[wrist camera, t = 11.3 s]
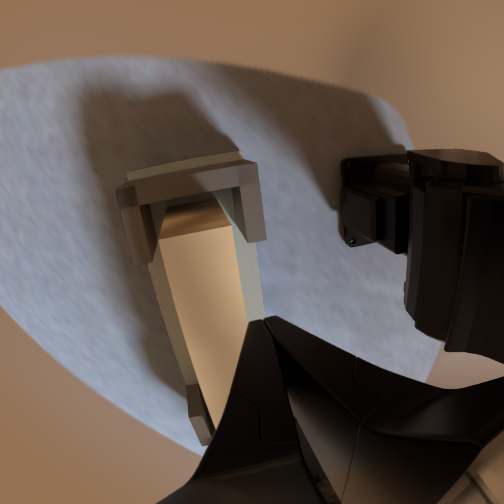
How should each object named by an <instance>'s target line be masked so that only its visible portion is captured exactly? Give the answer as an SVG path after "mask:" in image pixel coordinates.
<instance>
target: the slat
mask: <svg viewBox="0 0 504 504" xmlns="http://www.w3.org/2000/svg"><path fill="white" fill-rule="evenodd" d="M158 241H159V245H160V250H161V254H162V258H163V262H164V266H165V270H166V274H167V278H168V281H169V285H170V289H171V293H172V296H173V300H174V304H175V307H176V311H177V314H178V318H179V321H180V325H181V328H182V331H183V335H184V338H185V341H186V345H187V348H188V351H189V354H190V357H191V360H192V363H193V367H194V370H195V373H196V376H197V379H198V382H199V384H200V387H201V390H202V393H203V396H204V399H205V402H206V404H207V407H208V410H209V413H210V415H211V418H212V421H213V423H214V426H215V429H217V426H218V424H219V422H220V419H221V417H222V414H223V411H224V408H225V405H226V402H227V398H228V395H229V393H230V388H231V384H232V381H233V377H234V374H235V370H236V366H237V363H238V359H239V355H240V351H241V348H242V344H243V340H244V337H245V333H246V329H247V325H248V324H247V318H246V312H245V306H244V299H243V293H242V287H241V281H240V275H239V269H238V262H237V256H236V250H235V244H234V237H233V231H232V225H231V223H230V222H229V220H228V218H227V216H226V215H225V213H224V211H223V209H222V207H221V206H220V204H219V202H218V200H217V199H216V198H212V199H207V200H201V201H196V202H191V203H186V204H181V205H176V206H171V207H167V209H166V212H165V216H164V220H163V224H162V227H161V231H160V235H159V239H158Z"/></svg>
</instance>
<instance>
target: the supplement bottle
mask: <svg viewBox="0 0 504 504" xmlns="http://www.w3.org/2000/svg"><path fill="white" fill-rule="evenodd" d="M294 421H295V425H296V429H297V433H298V437H299V441H300V445H301V449H302V452H303V456H304V459H305V462H306V464H307V466H308V468H309V470H310V472H311V474H312V476H313V478H314V480H315V482H316V484H317V486H318V488H319V490H320V492H321V494H322V496H323V497H324V499H325V501H326V503H327V504H342V503H341V502H342V501H340V499H339V498H338V496H337V494H336V492H335V490H334V488H333V487H332V485H331V483H330V481H329V479H328V478H327V476H326V474H325V472H324V470H323V468H322V466H321V465H320V463H319V461H318V459H317V457H316V455H315V453H314V452H313V450H312V448H311V446H310V444H309V442H308V440H307V438H306V436H305V435H304V433H303V431H302V429H301V427H300V425H299V423H298V421H297V419H296V418H294Z"/></svg>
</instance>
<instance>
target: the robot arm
mask: <svg viewBox="0 0 504 504" xmlns="http://www.w3.org/2000/svg"><path fill="white" fill-rule="evenodd" d="M408 160H409V162H408ZM348 162H350V167H349V168H347V163H348ZM341 173H342V189H341V208H342V223H343V224H344V231H345V243H346V245H348V246H349V247H357V246H362V245H366V244H371V243H375V242H377V243H378V244H380V245H382V246H384V247H385V248H387V249H389V250H390V251H392V252H394V253H395V254H403V255H405V256H407V271H406V282H404V304H405V309H406V311H407V312H408V313H409V315H410V316H411V317H412V319H413V320H414V321H415V327H416V329H418V330H419V331H421V332H422V333H424V334H425V335H427V336H429V337H431V338H433V339H436V340H438V341H442V342H445V346H444V350H445V351H446V352H467V353H473V354H479V355H482V356H485V357H488V358H490V359H493V360H495V361H498V362H500V363H503V364H504V163H503V162H502V161H500V160H498V159H497V158H495V157H494V156H492V155H490V154H489V153H486V152H480V151H472V150H464V149H425V150H407V154H390V155H374V156H361V157H349V158H344V159H343V160H342V162H341ZM352 238H354V239H353V241H352V242H351V243H350V240H351V239H352ZM292 411H293V413H294V415H295V417H296V419H297V421H298V423H299V425H300V427H301V429H302V431H303V433H304V435H305V436H306V438H307V440H308V442H309V444H310V446H311V448H312V450H313V452H314V453H315V455H316V457H317V459H318V461H319V463H320V465H321V466H322V468H323V470H324V472H325V474H326V476H327V478H328V479H329V481H330V483H331V485H332V487H333V488H334V490H335V492H336V494H337V496H338V498H339V499H340V501H342V502H341V503H342V504H504V376H503V377H500V378H497V379H494V380H490V381H487V382H483V383H480V384H476V385H472V386H468V387H465V388H460V389H443V388H439V387H435V386H432V385H429V384H426V383H423V382H420V381H417V380H414V379H411V378H408V377H405V376H402V375H399V374H396V373H393V372H391V371H388V370H385V369H383V368H380V367H378V366H376V365H374V364H371V363H369V362H367V361H365V360H363V359H361V358H359V357H356V356H355V355H352V354H350V353H348V352H346V351H344V350H342V349H340V348H338V347H336V346H334V345H332V344H330V343H328V342H326V341H324V340H323V339H321V338H319V337H317V336H315V335H313V334H311V333H309V332H307V331H305V330H303V329H301V328H299V327H297V326H295V325H293V324H292V323H290V322H288V321H286V320H284V319H282V318H280V317H278V316H270V317H266V318H264V319H263V320H262V319H258V320H253V321H249V323H248V325H247V329H246V333H245V337H244V340H243V344H242V348H241V351H240V355H239V359H238V363H237V366H236V370H235V374H234V377H233V381H232V384H231V388H230V393H229V395H228V398H227V402H226V405H225V408H224V411H223V414H222V417H221V419H220V422H219V424H218V426H217V429H216V431H215V433H214V435H213V437H212V439H211V441H210V443H209V445H208V447H207V449H206V451H205V453H204V455H203V457H202V459H201V461H200V463H199V466H198V467H197V469H196V471H195V472H194V474H193V475H192V477H191V478H190V479H189V480H188V482H187V483H185V484H184V485H183V486H182V487H180V488H179V489H177V490H176V491H174V492H173V493H171V494H170V495H168V496H167V497H165V498H164V499H162V500H161V501H159V502H157V503H156V504H327V503H326V501H325V499H324V497H323V496H322V494H321V492H320V490H319V488H318V486H317V484H316V482H315V480H314V478H313V476H312V474H311V472H310V470H309V468H308V466H307V464H306V462H305V459H304V456H303V452H302V449H301V445H300V441H299V437H298V433H297V429H296V425H295V421H294V417H293V413H292Z"/></svg>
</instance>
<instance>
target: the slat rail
mask: <svg viewBox="0 0 504 504" xmlns="http://www.w3.org/2000/svg"><path fill="white" fill-rule="evenodd" d="M127 178H128V182H127V183H125V184H124V185H122V186H121V187H119V188H118V189H117V190H116V195H117V199H118V204H119V208H120V213H121V217H122V221H123V225H124V230H125V234H126V237H127V241H128V245H129V249H130V253H131V256H132V260H133V264H134V266H137V265H142V264H147V265H148V269H149V272H150V276H151V279H152V283H153V286H154V290H155V293H156V297H157V300H158V303H159V307H160V310H161V313H162V316H163V320H164V323H165V326H166V329H167V332H168V335H169V338H170V341H171V344H172V347H173V350H174V353H175V356H176V359H177V361H178V364H179V367H180V370H181V372H182V375H183V378H184V381H185V383H186V387H187V401H188V414H189V419H190V421H191V424H192V426H193V428H194V430H195V432H196V434H197V437H198V439H199V441H200V443H201V445H202V446H206V445H209V443H210V441H211V439H212V437H213V435H214V433H215V431H216V429H215V426H214V423H213V421H212V418H211V415H210V413H209V410H208V407H207V404H206V402H205V399H204V396H203V393H202V390H201V387H200V384H199V382H198V379H197V376H196V373H195V370H194V367H193V363H192V360H191V357H190V354H189V351H188V348H187V345H186V341H185V338H184V335H183V331H182V328H181V325H180V321H179V318H178V314H177V311H176V307H175V304H174V300H173V296H172V293H171V289H170V285H169V281H168V278H167V274H166V270H165V266H164V262H163V258H162V254H161V250H160V245H159V241H158V239H159V235H160V231H161V227H162V224H163V220H164V216H165V212H166V209H167V207H171V206H176V205H181V204H186V203H191V202H196V201H201V200H207V199H212V198H216V199H217V200H218V202H219V204H220V206H221V207H222V209H223V211H224V213H225V215H226V216H227V218H228V220H229V222H230V223H231V225H232V231H233V237H234V244H235V250H236V256H237V262H238V269H239V275H240V281H241V287H242V293H243V299H244V306H245V312H246V318H247V324H248V323H249V321H253V320H258V319H262V320H263V319H264V318H265V312H264V305H263V297H262V290H261V282H260V275H259V267H258V260H257V252H256V245H255V242H258V241H263V240H267V239H266V231H265V223H264V215H263V206H262V198H261V191H260V183H259V175H258V167H257V163H255V162H252V161H248V160H245V159H244V156H243V151H235V152H228V153H222V154H216V155H210V156H204V157H198V158H193V159H187V160H182V161H177V162H172V163H167V164H162V165H157V166H153V167H148V168H143V169H139V170H135V171H130V172H128V173H127Z"/></svg>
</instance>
